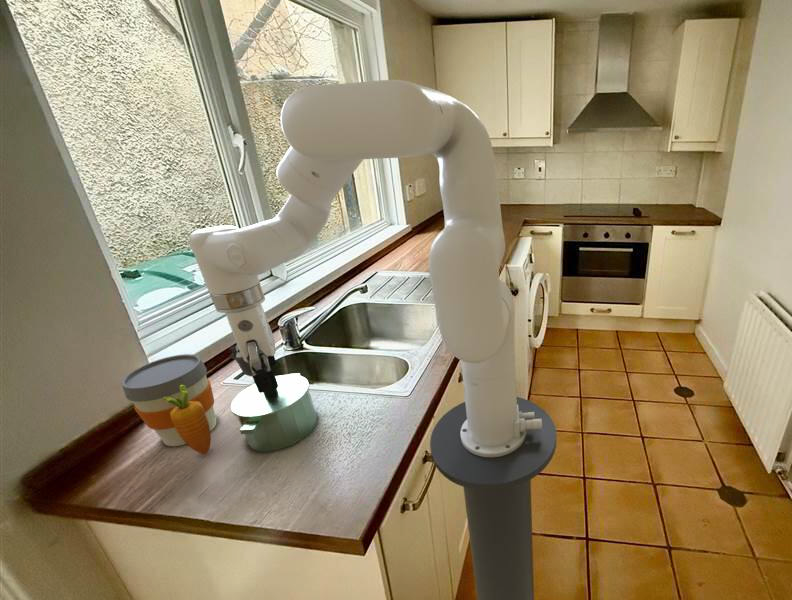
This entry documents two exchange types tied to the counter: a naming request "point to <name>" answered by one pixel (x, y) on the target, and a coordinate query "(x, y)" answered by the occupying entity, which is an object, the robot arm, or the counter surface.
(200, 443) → the carrot
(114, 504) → the counter surface
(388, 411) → the counter surface
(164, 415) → the reusable coffee cup
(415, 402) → the counter surface
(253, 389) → the lid
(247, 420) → the pot
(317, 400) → the counter surface
